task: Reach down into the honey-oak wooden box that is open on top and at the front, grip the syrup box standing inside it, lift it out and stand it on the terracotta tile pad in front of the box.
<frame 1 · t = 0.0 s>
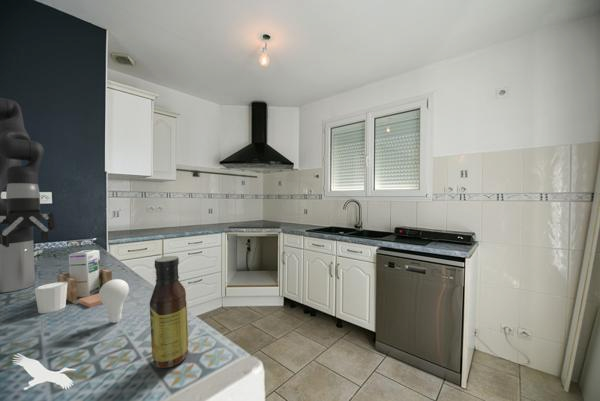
hand: (25, 244, 83), 17 cm above the counter, tool pointing down, fingers open, 8 cm apart
wooden box: (85, 293, 82), on the counter
lightbulb: (115, 323, 62), on the counter
sauce bottle: (170, 361, 47), on the counter
syrup box: (86, 294, 82), resting in wooden box
shot glass: (52, 309, 71), on the counter
tile pad: (101, 300, 77), on the counter
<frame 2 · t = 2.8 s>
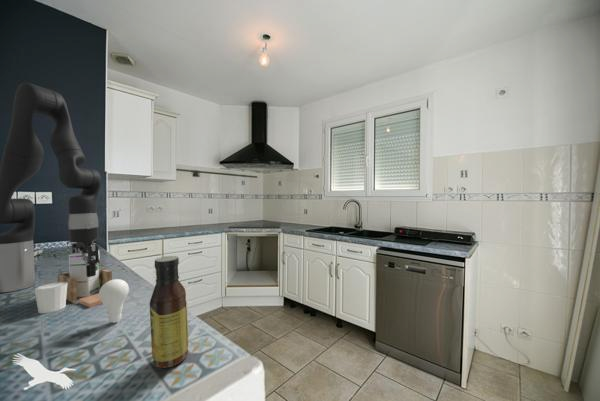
hand: (85, 274, 82), 7 cm above the counter, tool pointing down, fingers open, 8 cm apart
nothing on the counter moved.
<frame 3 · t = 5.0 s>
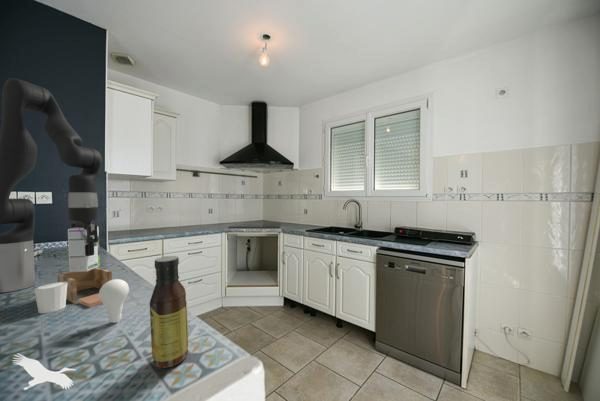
hand: (84, 254, 82), 14 cm above the counter, tool pointing down, fingers closed on syrup box, 7 cm apart
syrup box: (84, 270, 82), point 8 cm above the counter, touching gripper
everything else where it was.
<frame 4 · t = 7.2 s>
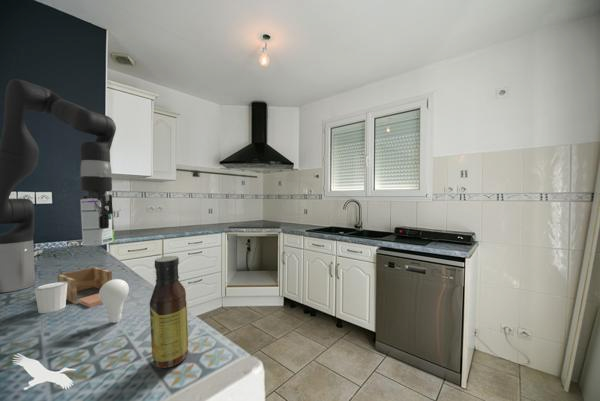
hand: (98, 227, 77), 23 cm above the counter, tool pointing down, fingers closed on syrup box, 7 cm apart
syrup box: (98, 244, 77), point 18 cm above the counter, touching gripper
everything else where it was.
when the fingers open (7 cm above the counter, at t = 11.0 s): syrup box stays where it is, resting on tile pad.
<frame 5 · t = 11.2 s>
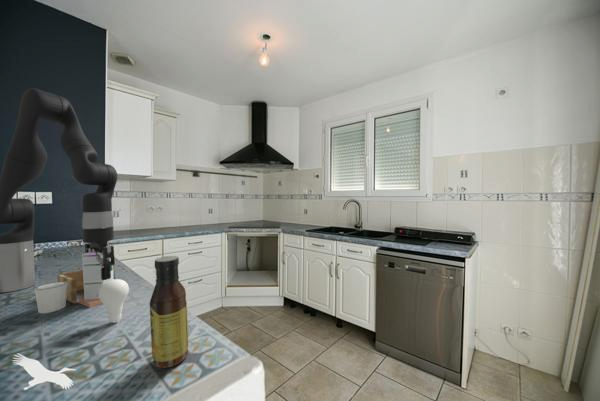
hand: (99, 277, 77), 7 cm above the counter, tool pointing down, fingers open, 8 cm apart
syrup box: (100, 296, 77), point 1 cm above the counter, touching gripper, tile pad
everything else where it was.
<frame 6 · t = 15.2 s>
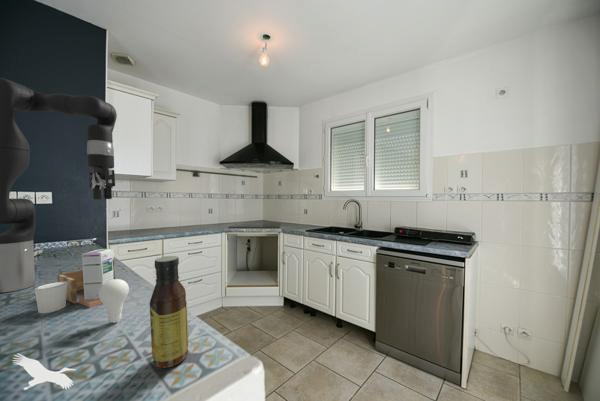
hand: (102, 199, 88), 32 cm above the counter, tool pointing down, fingers open, 8 cm apart
syrup box: (100, 296, 77), point 1 cm above the counter, touching tile pad
everything else where it was.
at the end: syrup box 0.3 cm off-centre on the tile pad, point 1.0 cm above the tile pad's base; syrup box tilted 0°; the gripper is holding nothing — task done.
